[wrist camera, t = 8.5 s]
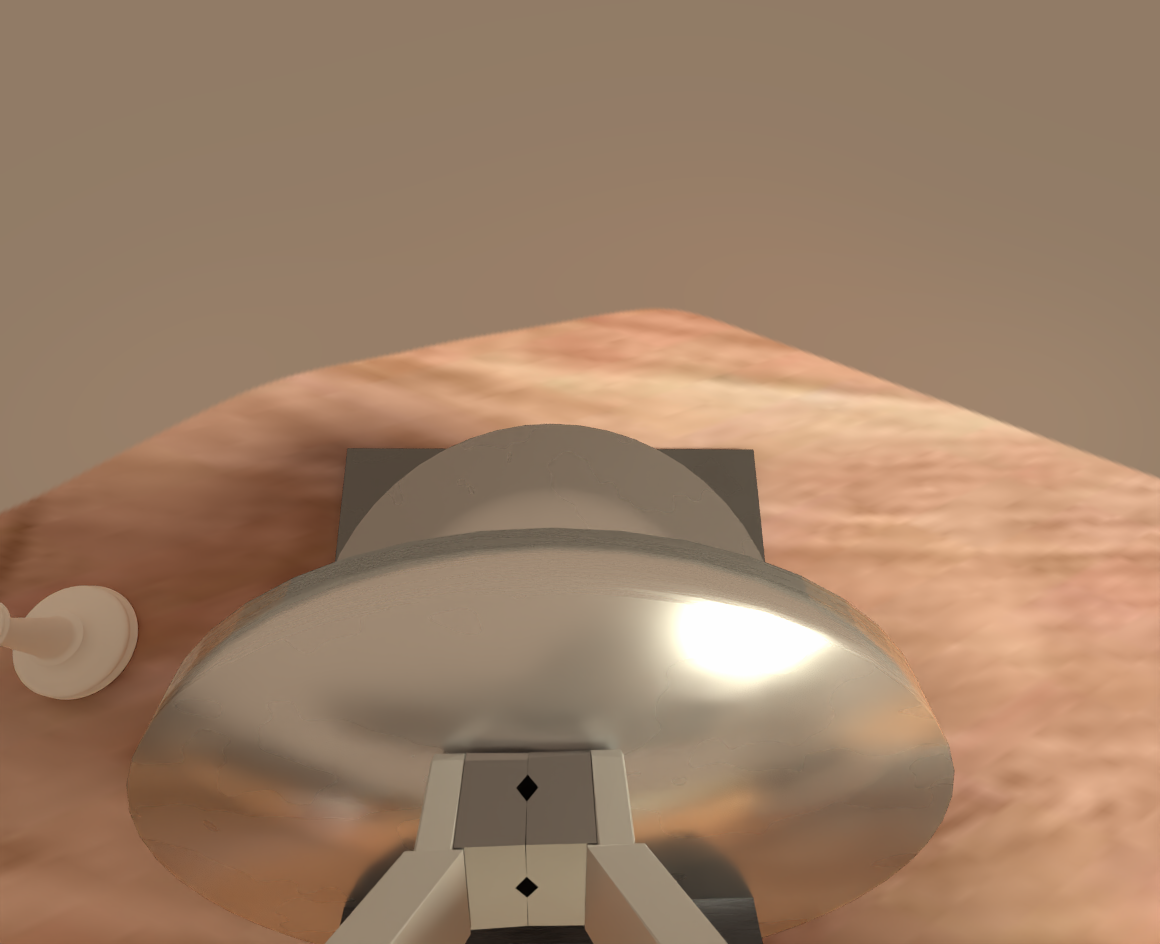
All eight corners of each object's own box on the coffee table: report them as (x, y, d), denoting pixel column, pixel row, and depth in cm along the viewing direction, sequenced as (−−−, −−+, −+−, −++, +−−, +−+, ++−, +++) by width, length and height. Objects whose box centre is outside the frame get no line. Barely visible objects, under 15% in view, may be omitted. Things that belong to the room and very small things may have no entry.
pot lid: (1076, 525, 9) (1218, 686, 7) (816, 911, 19) (847, 1028, 17) (-11, 528, 9) (-179, 703, 7) (278, 924, 18) (243, 1048, 16)
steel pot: (753, 453, 34) (827, 362, 25) (801, 910, 27) (924, 1014, 18) (346, 452, 33) (268, 358, 24) (295, 923, 26) (161, 1038, 17)
